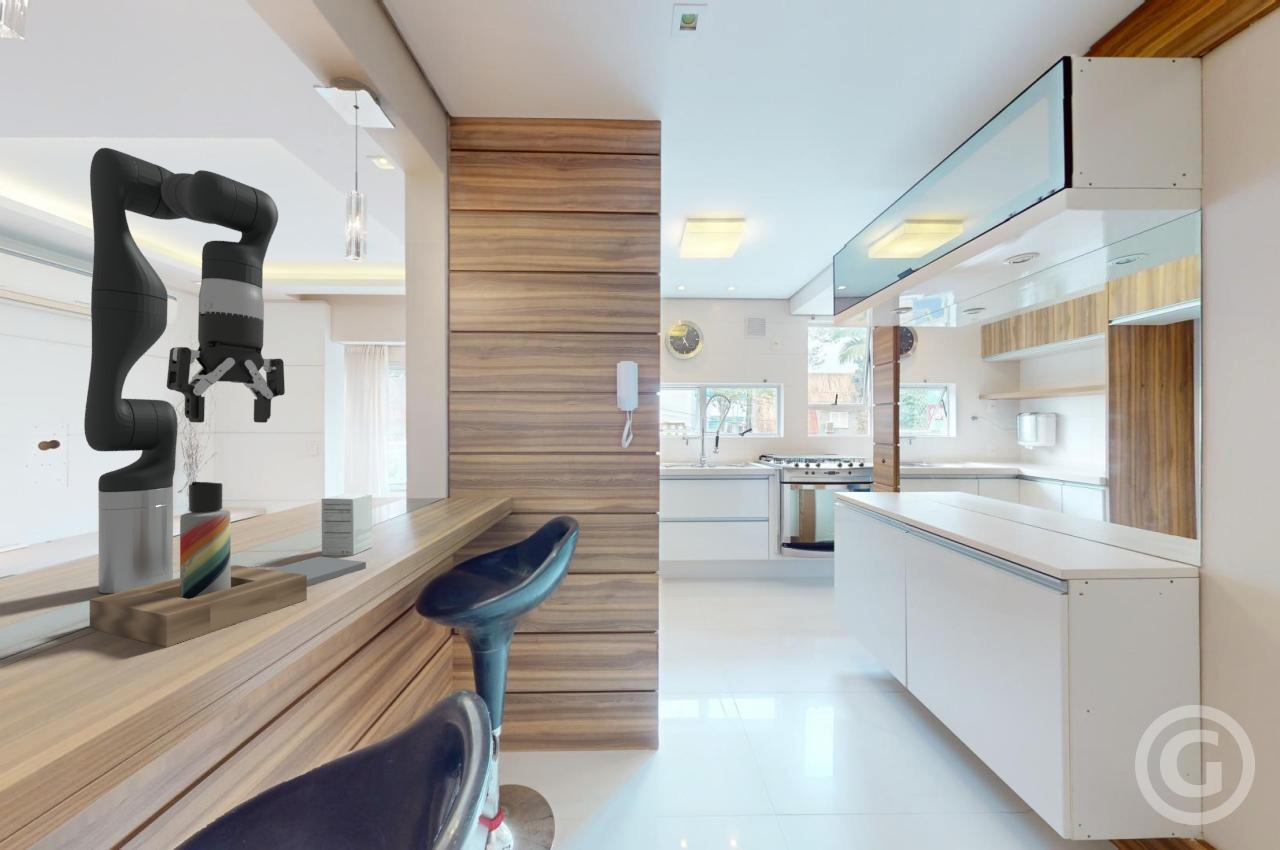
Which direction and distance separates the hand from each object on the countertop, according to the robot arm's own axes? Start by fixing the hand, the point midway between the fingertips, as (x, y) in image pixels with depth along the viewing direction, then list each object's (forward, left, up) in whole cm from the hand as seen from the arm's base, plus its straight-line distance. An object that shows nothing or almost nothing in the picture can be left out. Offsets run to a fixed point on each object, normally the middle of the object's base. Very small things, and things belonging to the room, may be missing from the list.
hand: (230, 422), depth 73 cm
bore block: (-4, -1, -29) cm, 29 cm away
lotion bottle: (-4, -1, -29) cm, 29 cm away
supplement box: (-17, +33, -29) cm, 47 cm away
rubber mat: (-8, +18, -29) cm, 35 cm away
